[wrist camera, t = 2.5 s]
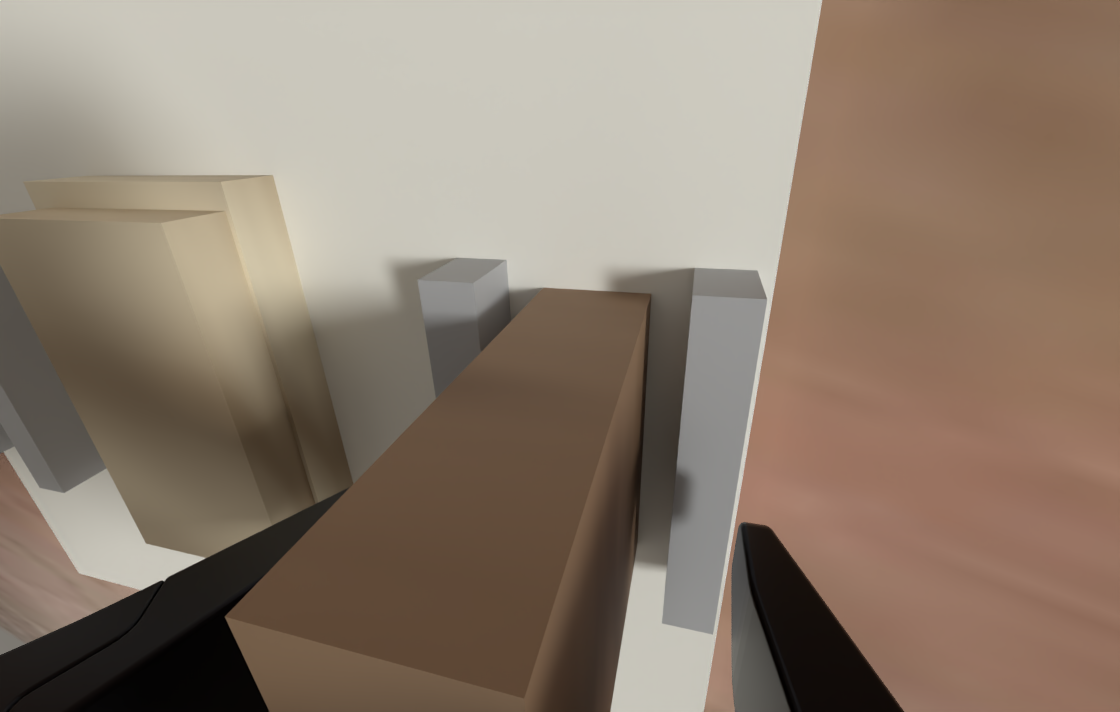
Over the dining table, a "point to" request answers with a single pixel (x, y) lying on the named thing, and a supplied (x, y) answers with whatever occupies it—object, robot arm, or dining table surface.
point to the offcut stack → (181, 347)
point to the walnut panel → (477, 537)
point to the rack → (445, 226)
